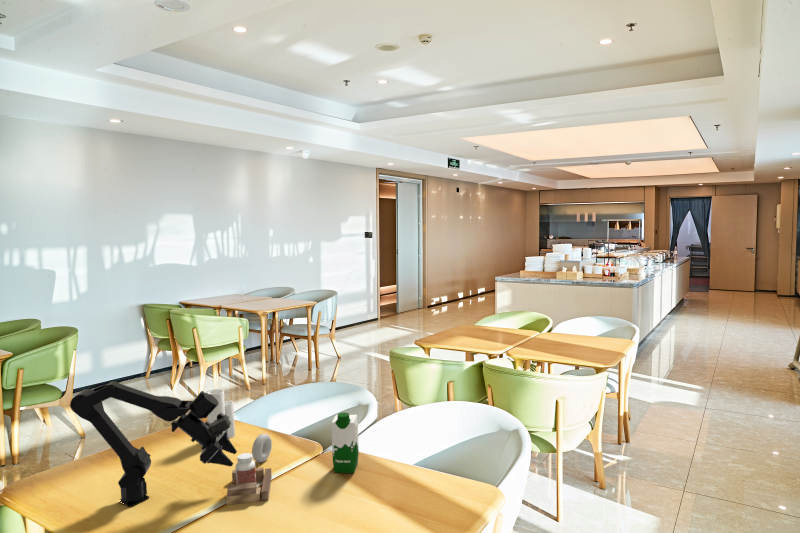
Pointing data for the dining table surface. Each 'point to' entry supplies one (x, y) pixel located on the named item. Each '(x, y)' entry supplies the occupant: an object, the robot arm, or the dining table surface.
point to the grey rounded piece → (261, 447)
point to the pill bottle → (245, 469)
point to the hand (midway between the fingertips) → (234, 458)
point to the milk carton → (345, 443)
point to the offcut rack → (249, 488)
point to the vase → (222, 410)
